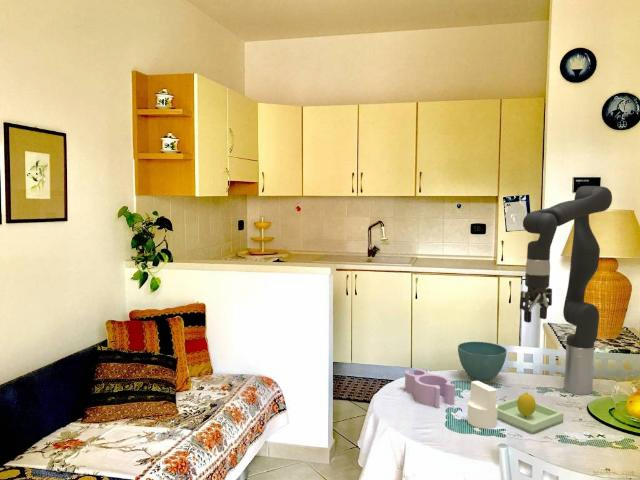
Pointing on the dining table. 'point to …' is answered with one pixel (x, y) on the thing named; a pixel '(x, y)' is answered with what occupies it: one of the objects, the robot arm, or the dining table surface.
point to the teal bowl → (481, 360)
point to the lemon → (526, 404)
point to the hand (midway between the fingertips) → (535, 320)
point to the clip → (429, 387)
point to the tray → (528, 417)
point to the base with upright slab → (482, 406)
